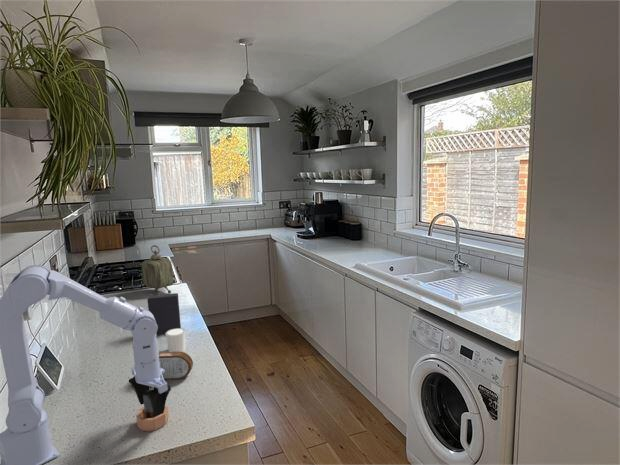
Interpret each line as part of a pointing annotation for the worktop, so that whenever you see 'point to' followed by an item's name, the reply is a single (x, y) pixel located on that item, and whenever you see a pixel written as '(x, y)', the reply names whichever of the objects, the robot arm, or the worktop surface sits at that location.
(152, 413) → the cell
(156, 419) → the cup
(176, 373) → the tin
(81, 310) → the worktop surface
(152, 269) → the tabletop clock
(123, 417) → the worktop surface
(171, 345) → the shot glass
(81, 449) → the worktop surface
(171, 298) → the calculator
